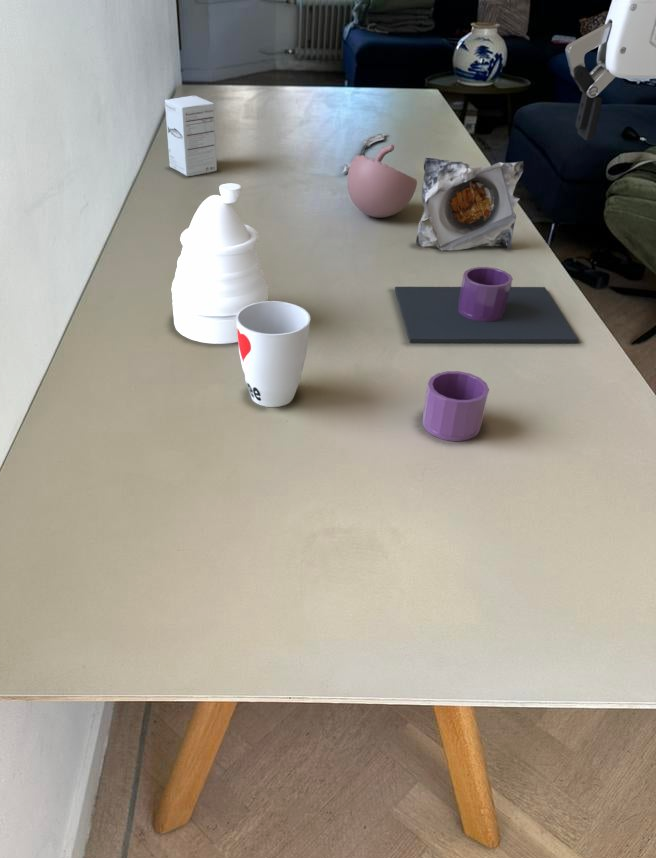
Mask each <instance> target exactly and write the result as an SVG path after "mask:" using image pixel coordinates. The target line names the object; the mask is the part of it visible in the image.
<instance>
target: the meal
mask: <svg viewBox="0 0 656 858" xmlns="http://www.w3.org/2000/svg"><path fill="white" fill-rule="evenodd" d="M423 171H424V175H423V178H422V179H423V180H422V184H421V185H422V187H421V199H422V203H423V204H422V205H423V208H424V210H423V212H422V215H421V218H420V220H419V222H418V226H417V235H416V238H415V245H416V246H417V245H418V246H419V247H422V248H425V247H430V246H434V247H436V248H438V249H439V250H441V251H460V250H461V251H462V250H467V249H472V248H475V247H481V246H484V247H494V246H496V247H501V248H505V249H510V248H511V245H512V240H513V235H514V229H515V223H516V220H517V214H516V212H515V211H514V208H515V206H516V205H517V203H518V202H519V201H520V198H519V197H516V196H515V195H514V192H515V188H516V186H517V183H518V182H519V181H520V178H521V176H522V174H523V173H524V160H522V161H516V162H507V161H506V162H500V161H499V162H497V163H494V164H492V165H490V166H488V167H487V166H486V167H485V166H477V167H472V168H471V167H470V163H469V164H468V162H465V161H450V160H448V159H440V158H433V157H424V159H423ZM426 220H429V221H430V224H431V225H427V224H424V221H426Z"/></svg>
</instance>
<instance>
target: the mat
mask: <svg viewBox="0 0 656 858" xmlns="http://www.w3.org/2000/svg"><path fill="white" fill-rule="evenodd" d="M460 291H461V286H394V292H395V296H396V299H397V303H398V307H399V310H400V313H401V317H402V320H403V323H404V327H405V330H406V334H407V337H408V341H409V343H411V344H415V343H416V344H417V343H418V344H423V343H424V344H431V343H432V344H578V342H579V338H578V337H577V335H576V333H575V332H574V330H573V328H571V326H570V324H569V323H568V321H567V319H566V318H565V316H564V315H563V313H562V311H561V310H560V308H559V307H558V305H557V303H556V302H555V300H554V299H553V298H552V295H550V293H549V291H548V290H547V288H546V287H545V286H511V289H510V294H509V299H508V303H507V308H506V311H505V315H504V317H503V318H501V319H499V320H496V321H490V322H483V321H475V320H471V319H468V318H466V317H464V316H462V315H461V314H460V313H459V311H458V303H459V297H460Z"/></svg>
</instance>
